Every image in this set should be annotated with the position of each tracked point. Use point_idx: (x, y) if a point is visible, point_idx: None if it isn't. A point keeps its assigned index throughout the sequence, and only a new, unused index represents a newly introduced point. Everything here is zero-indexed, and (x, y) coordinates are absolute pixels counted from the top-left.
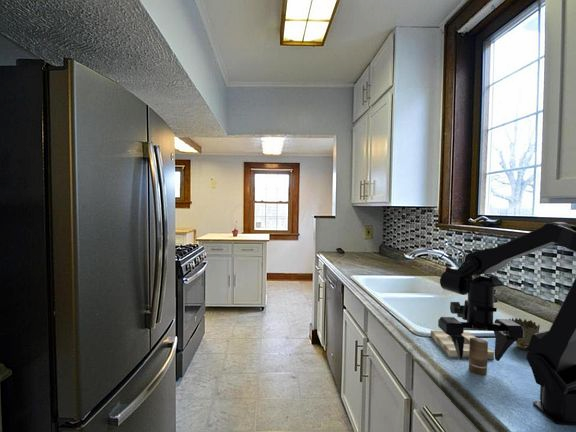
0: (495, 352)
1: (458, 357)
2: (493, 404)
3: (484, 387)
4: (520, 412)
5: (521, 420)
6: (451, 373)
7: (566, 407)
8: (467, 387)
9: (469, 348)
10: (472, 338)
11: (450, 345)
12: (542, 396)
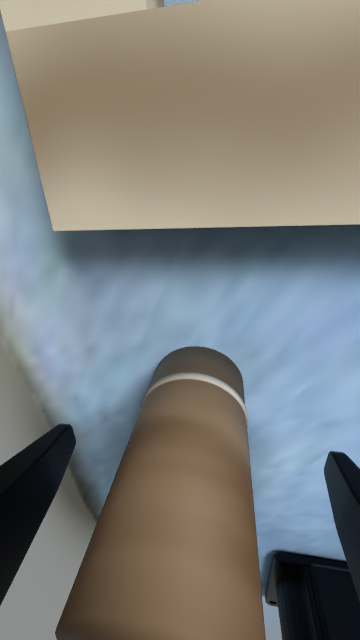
0: (354, 513)
1: (60, 425)
2: None
3: None
4: None
5: None
6: (59, 400)
7: None
8: (97, 475)
9: (108, 494)
10: (101, 626)
11: (78, 92)
12: (291, 627)
